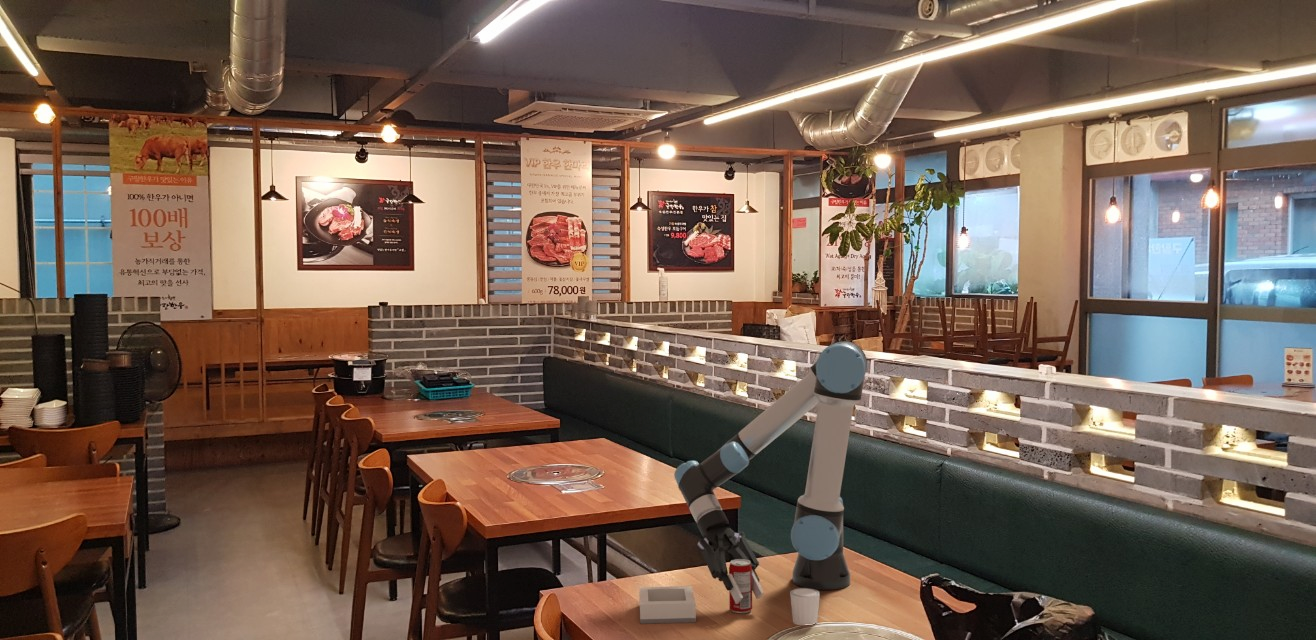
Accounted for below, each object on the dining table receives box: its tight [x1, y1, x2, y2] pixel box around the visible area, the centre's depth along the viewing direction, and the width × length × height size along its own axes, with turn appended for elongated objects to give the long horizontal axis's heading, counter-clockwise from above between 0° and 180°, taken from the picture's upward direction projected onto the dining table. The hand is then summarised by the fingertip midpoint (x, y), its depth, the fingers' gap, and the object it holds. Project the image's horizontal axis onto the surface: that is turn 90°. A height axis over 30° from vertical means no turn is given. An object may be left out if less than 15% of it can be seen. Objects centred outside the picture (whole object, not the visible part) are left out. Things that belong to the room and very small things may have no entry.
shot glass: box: [789, 587, 821, 626], centre depth 224 cm, size 7×7×7 cm
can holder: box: [638, 585, 697, 624], centre depth 230 cm, size 13×13×4 cm
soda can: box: [728, 559, 753, 614], centre depth 232 cm, size 6×6×12 cm
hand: (749, 598), depth 229 cm, fingers closed on soda can, 5 cm apart
